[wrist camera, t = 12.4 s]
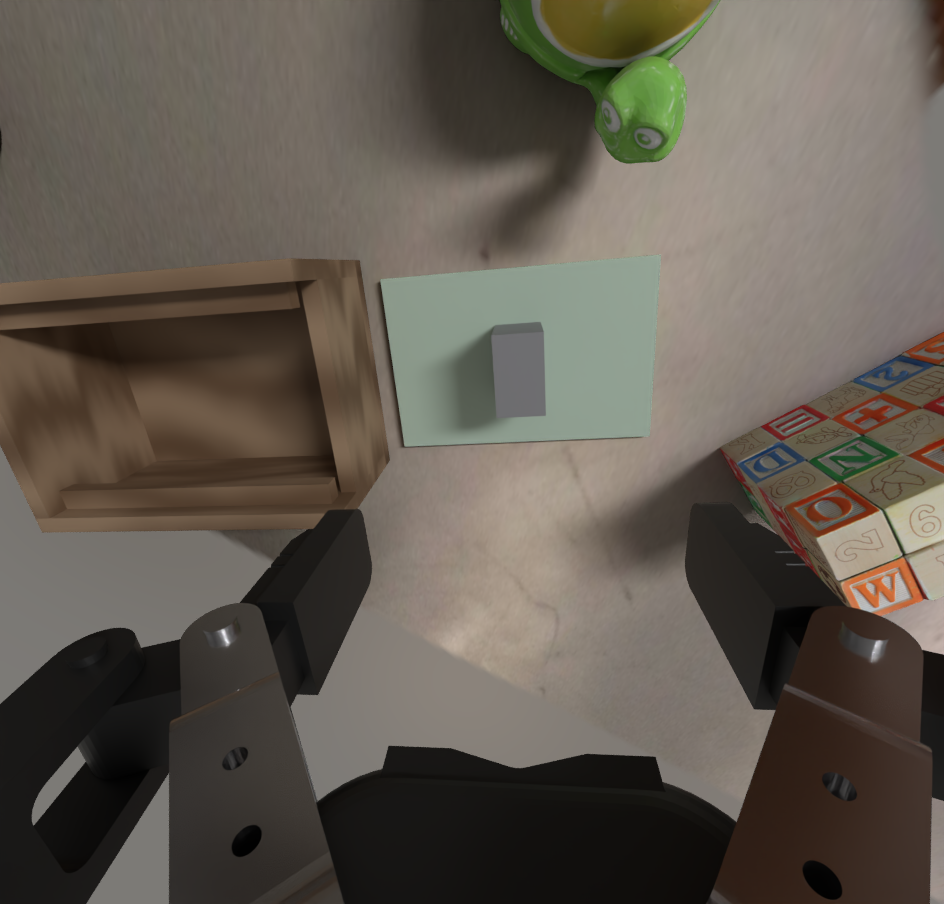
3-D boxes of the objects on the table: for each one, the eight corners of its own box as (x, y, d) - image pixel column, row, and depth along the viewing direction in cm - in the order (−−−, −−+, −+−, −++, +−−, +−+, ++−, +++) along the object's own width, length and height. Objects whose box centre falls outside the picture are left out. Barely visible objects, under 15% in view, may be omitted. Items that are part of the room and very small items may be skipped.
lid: (385, 278, 32) (355, 282, 26) (655, 255, 30) (687, 252, 24) (408, 441, 36) (387, 474, 31) (645, 430, 34) (670, 464, 28)
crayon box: (93, 283, 33) (-75, 290, 24) (359, 260, 31) (289, 258, 22) (158, 467, 39) (42, 532, 29) (389, 460, 36) (344, 528, 27)
